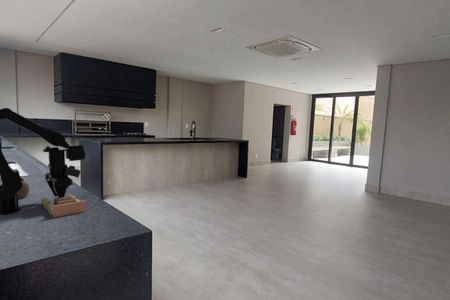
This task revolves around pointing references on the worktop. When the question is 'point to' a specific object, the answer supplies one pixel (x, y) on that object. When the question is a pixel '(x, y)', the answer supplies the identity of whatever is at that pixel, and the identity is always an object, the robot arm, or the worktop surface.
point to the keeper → (63, 200)
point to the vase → (23, 190)
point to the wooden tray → (48, 204)
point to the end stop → (69, 208)
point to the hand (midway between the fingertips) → (58, 198)
